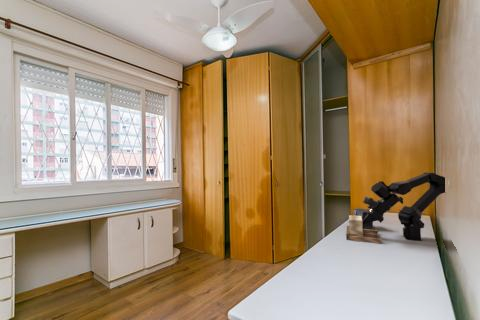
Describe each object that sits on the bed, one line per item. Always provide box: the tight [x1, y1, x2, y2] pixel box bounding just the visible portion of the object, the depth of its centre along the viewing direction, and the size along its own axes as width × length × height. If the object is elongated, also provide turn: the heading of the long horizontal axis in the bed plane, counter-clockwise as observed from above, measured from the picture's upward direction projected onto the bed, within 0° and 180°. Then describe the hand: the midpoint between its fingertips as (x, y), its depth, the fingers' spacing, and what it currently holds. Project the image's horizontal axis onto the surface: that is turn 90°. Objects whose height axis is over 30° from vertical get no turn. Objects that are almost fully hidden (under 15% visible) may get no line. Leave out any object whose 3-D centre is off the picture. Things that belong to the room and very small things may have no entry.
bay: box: [345, 225, 382, 244], centre depth 120 cm, size 15×16×3 cm
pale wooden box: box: [348, 214, 363, 237], centre depth 121 cm, size 6×11×9 cm, turn 154°
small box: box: [353, 208, 374, 230], centre depth 137 cm, size 11×6×10 cm, turn 1°
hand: (362, 223), depth 120 cm, fingers closed, pressing on pale wooden box
